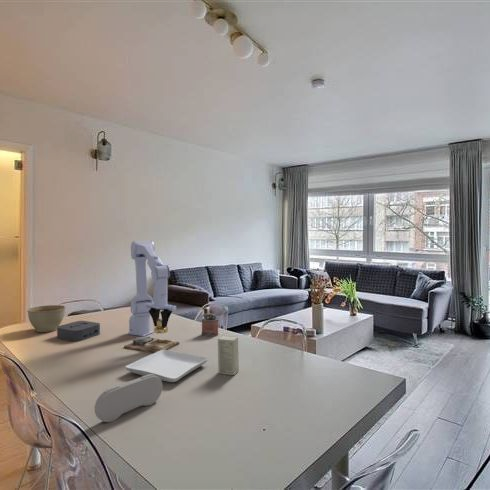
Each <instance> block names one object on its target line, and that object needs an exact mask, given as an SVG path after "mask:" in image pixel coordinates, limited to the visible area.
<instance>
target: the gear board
mask: <svg viewBox="0 0 490 490" xmlns="http://www.w3.org/2000/svg"><path fill="white" fill-rule="evenodd" d="M178 345H180V342H179V341H177V340H173V339H166V338H160V337H158V338H155V337H151V336H150V335H149V336H148V335H147V336H139V337H135V338H134V339H132V342H130V343H128V344H125V345H124V346H123V348H124V349H129V350H135V351H138V352H139V351H141V352H146V353H150V354H153V353H156V352H158V351H160V350H170V349H172V348H174V347H176V346H178Z"/></svg>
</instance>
